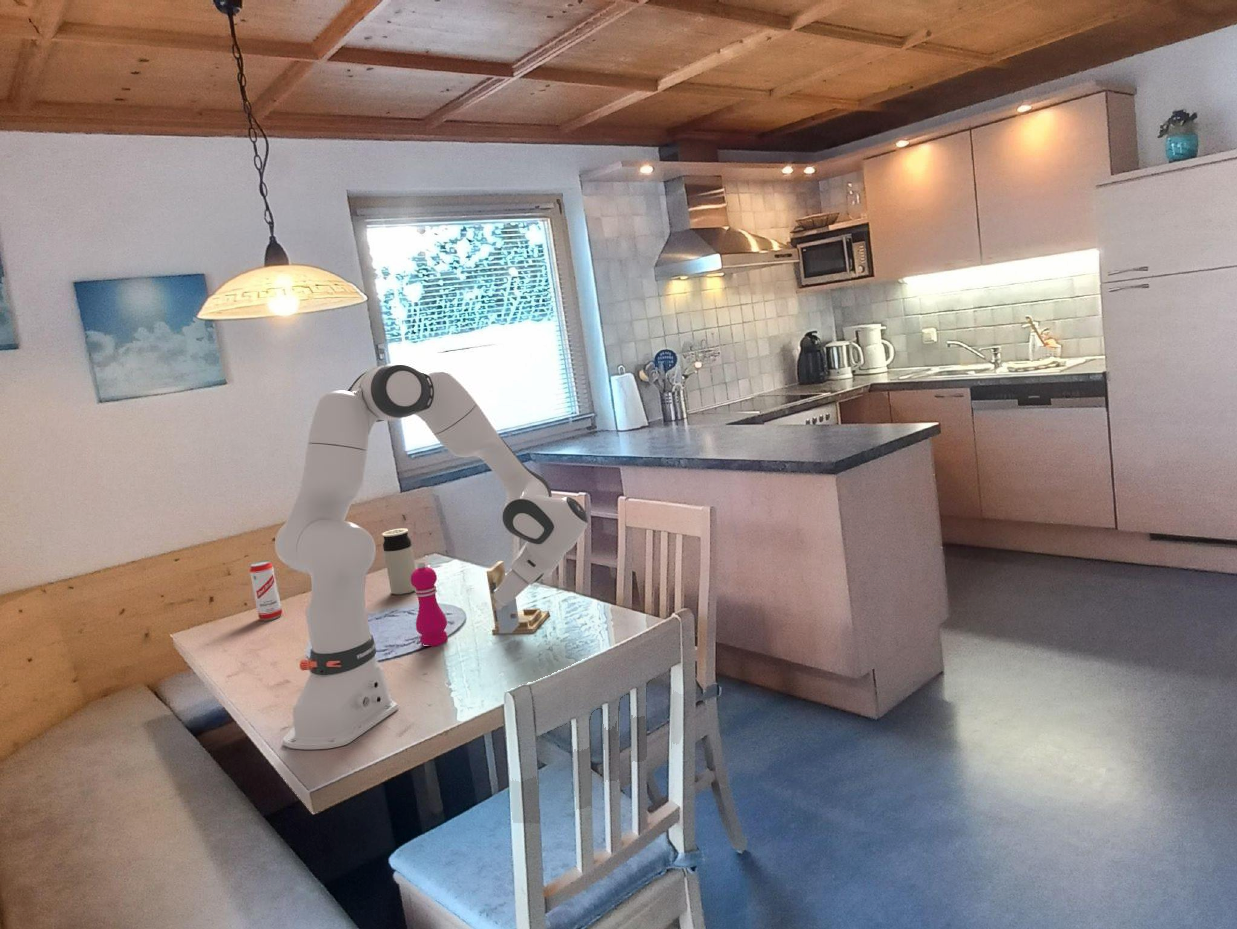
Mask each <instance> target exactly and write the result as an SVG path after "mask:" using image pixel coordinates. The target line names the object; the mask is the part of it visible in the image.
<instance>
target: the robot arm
mask: <svg viewBox="0 0 1237 929" xmlns="http://www.w3.org/2000/svg"><path fill="white" fill-rule="evenodd" d="M413 415H416V416H417V417H419V418H420V420H422V422H425V424H426V425H427V426H426V427H428V429H429V430H430V431H431V433H433V434H432V435H433V436H434V437H436V439H437V441H439V442H440V444H441V445H442V446H443V447H444V449H445V450H447V451H448V452H449V453H450V454H451V455H453V456H454V457H455V456H456V457H459V458H471V457H476V458H479V459H480V460H482V461H483V462H484V463H485V465H487V466H488V467H489V469H490V470H491V471H492V472H493V474H494V475H496V477H497V478H498V480H500V482H501V483H502V484H503V486H504V489H505V492H506V500H505V503H504V507H503V511H502V515H501V516H502V523H503V525H504V528H505V529H506V530H507V531H508V532H509V533H510V534H512V535H513V536H515V537H516V538H517V537H518V538H519V539H521V540H524V541H526V542H525V543H524V544H523V546H522V547H521V548H520V549H519V551H518V552H517V555H516V556H515V559H514V560H513V561H512V562H511V563H510V565H509V568H510V570H509V571H508V572H507V574H506V576H505V578H504V579H503V581H502V582H501V584H500V585H499V587H498V588H497V590H496V592H495V594H494V597H495V598H496V599H497V600H498V601H497V602H496V603H495V607H496V608H497V609H498V610H501V609H502V608H503V607H504V606H506V605H508V604H509V603H510V602H511V601H512V600H513V599H514V598H515V597H516V598H517V597H518V596H519V595H520V594H522V592H523V591H524V590H525V589H526V588H528V587H529V586H530V585H533V584H535V583H537V582H538V581H540V580H543V579H548V578H549V577H550V576H551V575H552V573H554V571H555V570H556V568H557V567H558V565H560V563H561V562H563V561H562V560H563V558H564V556H565V555H566V554H567V552H569V551H570V550H572V548H574V546H575V545H576V544H577V542H578V541H579V539H580V538H581V537H582V535H583V534H584V532H585V531H586V530H587V526H588V515H587V512H586V510H585V509H584V508H583V506H582V505H581V504H580V502H578V501H577V500H576V499H575V498H572V497H569V496H567V497H566V496H565V497H552V493H553V492H552V489H551V486H550V484H549V483H548V481H546V479H545V478H544V477H542V476H540V475H539V474H538V473H535V472H534V471H532V470H531V469H529V468H528V467H527V466H526V465H525V464H524V463H523V462H522V461H521V459H520V458H519V457H518V456H517V454H516V453H515V452H514V451H513V449H511V447H510V446H509V445H508V444H507V443H506V442H505V440H504V439H503V437H502V436H500V435H499V433H498V432H497V431H496V429H495V428H494V427H493V425H492V423H491V422H490V421H489V418H488V417H487V415H485V413H484V411H483V410H482V408H481V407H480V406H479V404H478V403H477V402H476V400H475V398H473V396H472V395H471V394H470V393H469V392H468V391H467V389H465V387H464V386H463V385H462V384H461V383H460V382H459V381H458V380H457V379H456V378H455V377H454V376H453V375H452V374H451V373H449V372H448V371H446V370H444V369H439V368H438V369H431V370H427V371H426V372H423V371H421V370H418V369H416V368H415V367H413V366H410V365H408V364H405V363H401V362H392V363H388V364H382V365H377V366H375V367H373V368H371V369H369V370H368V371H365V372H364V373H361V375H359V376H358V377H357V378H356V379H355V381H354V382H353V383H352V385H351V386H350V387H349V388H348V390H333V391H330V392H326V393H324V394H323V395H322V396H321V397H320V398H319V400H318V403H317V405H316V407H315V411H314V414H313V417H312V421H311V424H310V429H309V433H308V434H309V435H308V439H307V440H308V441H307V446H306V453H305V459H304V466H303V472H302V478H301V479H302V480H301V482H300V487H299V490H298V492H297V497H296V499H295V501H294V504H293V506H292V508H291V510H290V514H289V515H288V517H287V518H288V519H287V520H286V522H285V523H284V524H283V525H282V526H281V527H280V528H279V530H278V531H277V533H276V535H275V539H274V550H275V553H276V555H277V557H278V558H279V560H280V561H281V562H283V564H285V565H286V566H288V567H289V568H290V569H292V570H294V571H296V572H299V573H304V574H309V576H310V579H311V595H310V601H309V603H308V605H307V606H306V609H305V619H306V625H307V629H308V634H309V639H310V640H309V641H310V645H311V649H310V653H309V659H301V660H300V662H299V665H298V667H299V670H301V671H309V676H308V677H307V680H306V681H305V684H304V686H303V688H302V690H301V692H300V694H299V696H298V698H297V700H296V702H295V704H294V706H293V708H292V719H293V727H292V728H291V729H290V730H289V731H288V733H286V734H285V735H284V737H283V738H282V745H283V746H284V747H286V748H289V749H294V750H325V749H332V748H338V747H342V746H345V745H348V744H349V743H351V742H352V741H355V740H356V739H357V738H358V737H360V736H361V735H362V734H364V733H365V732H367V731H368V730H370V729H371V728H372V727H374V726H376V725H377V724H379V723H380V722H381V721H383V720H384V719H385V718H387V717H389V716H391V714H393V713H394V712H396V711H397V710H398V709H399V707H398V704H397V702H396V701H395V700H393V699H392V696H391V692H390V689H389V688H390V687H389V685H388V681H387V678H386V674H385V670H384V669H383V667H382V666H381V664H380V663H379V661H378V660H377V657H376V654H377V648H376V641H375V640H374V636H373V634H372V633H371V630H370V624H369V618H368V612H367V606H366V597H365V596H366V582H367V574H368V571H369V570H370V568H371V566H372V565H373V564H374V561H375V558H376V553H377V551H376V550H377V547H376V542H375V540H374V537H373V536H372V535H371V534H370V532H369V531H368V530H366V529H365V528H363V527H361V526H360V525H358V524H356V523H354V522H351V521H348V520H345V519H346V518H347V514H348V512H349V509H350V507H351V505H352V503H353V502H354V500H355V499H356V498H357V497H358V496H359V495H360V494H361V492H362V489H363V484H364V479H365V478H364V476H365V471H366V470H365V469H366V463H367V455H368V446H369V435H370V433H371V430H372V427H373V426H374V424H376V423H377V422H378V423H379V422H384V421H386V422H392V421H397V420H400V419H403V418H407V417H410V416H413Z"/></svg>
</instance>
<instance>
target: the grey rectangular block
mask: <svg viewBox="0 0 1237 929" xmlns="http://www.w3.org/2000/svg"><path fill="white" fill-rule="evenodd" d="M496 590H497V589H495V590H494V591H493V592H494V594H495V592H496ZM494 599H495V603H496V602H497V601H498V600H497V599H496V598H495V597H494ZM518 612H519V611H518V604H517V596H516V597H515V598H514V599H513V600H512V601H511V602H510V603H509V604H508V605H506V606H504V607H503V608H502V609H501V610H498V609H497V608H496V613H497V620H498V627H499V633H511V634H513V633H512V632H513V631H514V630H515V629H516V628H517V627H518V626H519V618H518Z"/></svg>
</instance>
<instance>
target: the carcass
mask: <svg viewBox="0 0 1237 929" xmlns="http://www.w3.org/2000/svg"><path fill="white" fill-rule="evenodd" d="M506 575H507V574H506V567H505V562H504V560H498V561H497V562H496V563H495V564H494V565H492V566H491V567H490V568H489V569H486V576H487V585H488V590H489V596H490V603H491V610H492V616H493V622H494V623H493V624H494V627H493V628H492V629H491V633H492V635H500V634H501V635H505V634H510V635H511V634H534V632H536V630H537V629H538V628H539V627H540V626H541V625H542V624H543V623H544V621H546V620H547V618H548V617H549V616H550V610H541V609H540V608H539V607H538V608H524V609H523V611H518V618H519V626H518V627H517V628H516V629H515V630H514V631H513V632H512V633H499V627H498V620H497V613H496V607H495V599H494V592H493V591H494V590H495V589H497V588H498V587H499V585H500V584H501V582H502V581H503V579H504V578H505V576H506Z"/></svg>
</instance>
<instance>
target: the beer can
mask: <svg viewBox="0 0 1237 929" xmlns="http://www.w3.org/2000/svg"><path fill="white" fill-rule="evenodd" d="M249 575H250V580H251V586H252V590H253V595H254V600H255V605H256V610H257V615H258V618H259V619H260V620H262V621H265V622H267V621H273V620H276V619H278V618H280V617H281V615H282V614H283V609H282V604H281V598H280V594H279V588H278V583H277V579H276V574H275V569H274V565H273V564H272V563H271V561H270V560H261V561H256V562H254V563H251V564H250V569H249Z"/></svg>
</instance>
